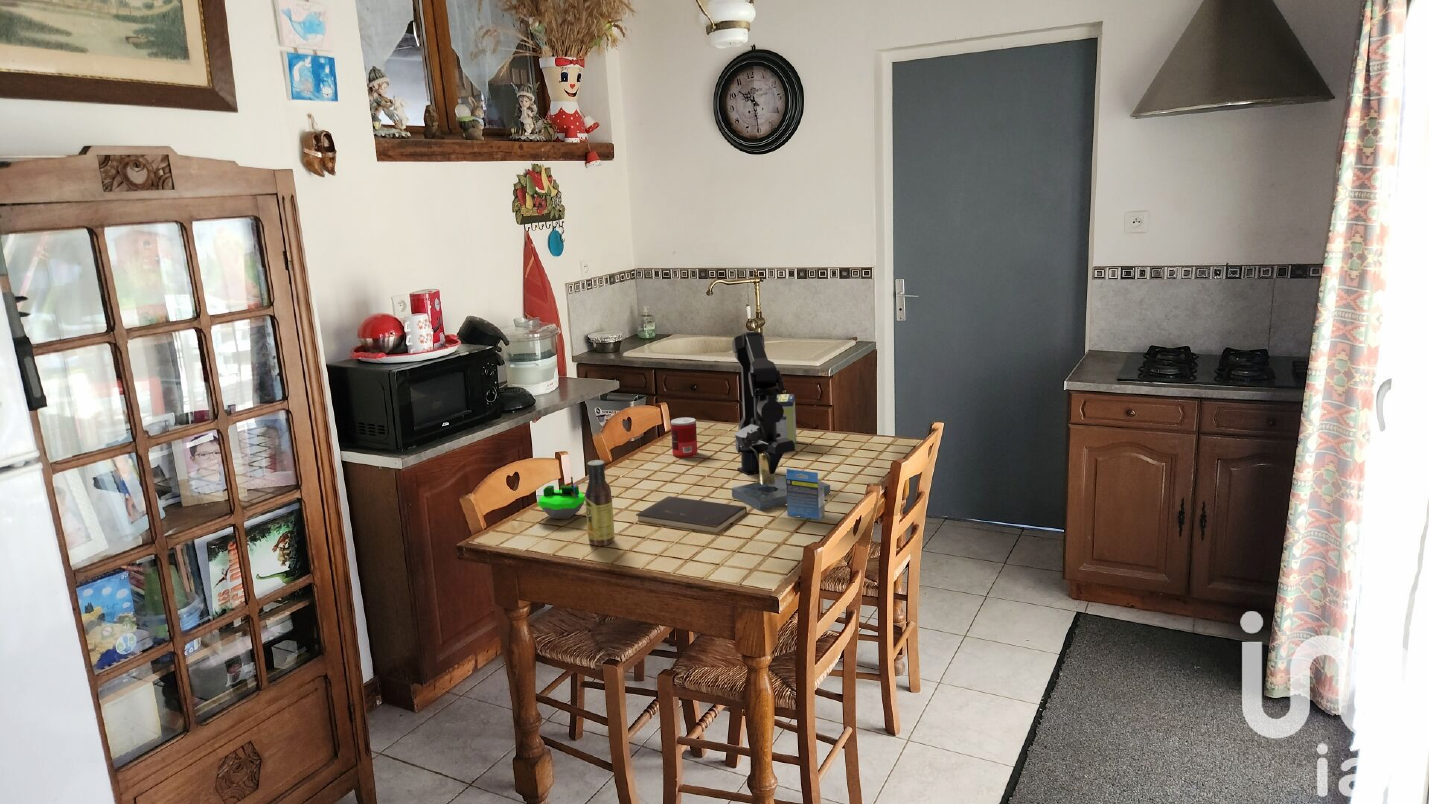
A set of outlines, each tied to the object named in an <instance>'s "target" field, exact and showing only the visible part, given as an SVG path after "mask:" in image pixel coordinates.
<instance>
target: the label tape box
mask: <svg viewBox="0 0 1429 804" xmlns="http://www.w3.org/2000/svg"><path fill="white" fill-rule="evenodd" d="M785 469H786V470H785V473H786V474H785V475H786V489H787V505H786V510H787V516H789V517H794V516H800V517H799V518H803V517H805V518H806V519H810V518H811V519H812V520H818V519H819V520H821V519H823V517H825V515H826V508H825V495H824V484H823V483H819V482H818V480H819V472H816V471H815V472H814V471H807V470H801V469H800V470H799V469H790V468H785ZM801 474H803V475H804V476H807V478H800V477H797V476H796V475H801ZM819 520H818V521H819Z"/></svg>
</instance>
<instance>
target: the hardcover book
mask: <svg viewBox="0 0 1429 804" xmlns="http://www.w3.org/2000/svg"><path fill="white" fill-rule="evenodd" d="M747 511H748V510H747V506H745V505H744V506H742V505H736V504H728V503H723V502H715V501H707V500H700V499H691V498H685V497H678V496H677V497H676V496H670V495H668V496H666V497H664V498H663V499H661V500H659V501H657V502H655V503H654V504H652V505H651V506H648V507H647V508H645V509H643V510H641V511H639V512H638V513H636V514H635V516H636V517H637V521H638V522H646V523H653V524H657V525H663V526H671V527H678V528H683V529H689V530H690V529H691V530H697V531H704V532H709V533H710V532H711V533H718V532H720V530H722V529H724V528H726V527H727V526H729V524H731V523H733V522H734V521H736V520H737V519H738V518H740V517H741V516H743V515H744V514H746V513H748V512H747Z"/></svg>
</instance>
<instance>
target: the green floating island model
mask: <svg viewBox="0 0 1429 804" xmlns="http://www.w3.org/2000/svg"><path fill="white" fill-rule="evenodd" d="M570 482H571V485H568V484H567V485H565V484H563V485H562V484H561V485H560V486H559V488H558V489H555V487H554V485H547V486H545V487H544V489H543V491H542V492H543V495H542V496H539V499H538V502H537V505H538V506H539V507H540V508H541V509H542V511H544V513H545V514H547V516H549V517H550V518H551V519H553V520H554V519H555V520H557V519H558V520H569V518H572V517H573V516H575V515H576V514H577V513H579V512H580V511H581V509H582V507H583V505H584V503H585V494H583V492H582V491H580V490H579V487H580V486H579V485H575V484H574V482H573V476H571V477H570Z"/></svg>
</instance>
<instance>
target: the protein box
mask: <svg viewBox="0 0 1429 804" xmlns="http://www.w3.org/2000/svg"><path fill="white" fill-rule="evenodd" d="M795 399H796V397H795V394H794V393H793V394H792V393H789V394H788V393H787V394H786V393H784V394H781V395H777V400H778V402H779V403H780V404H781V405H782V407H783V409H784V414H783V417H782V418H781V420H780V422H777V432H778V433H780V435H781V437H778V438H776V439H781V438H787V439H790V440H793V441H794V442H795V445H796V444H797V424H796V422H797V421H796V400H795Z"/></svg>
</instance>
